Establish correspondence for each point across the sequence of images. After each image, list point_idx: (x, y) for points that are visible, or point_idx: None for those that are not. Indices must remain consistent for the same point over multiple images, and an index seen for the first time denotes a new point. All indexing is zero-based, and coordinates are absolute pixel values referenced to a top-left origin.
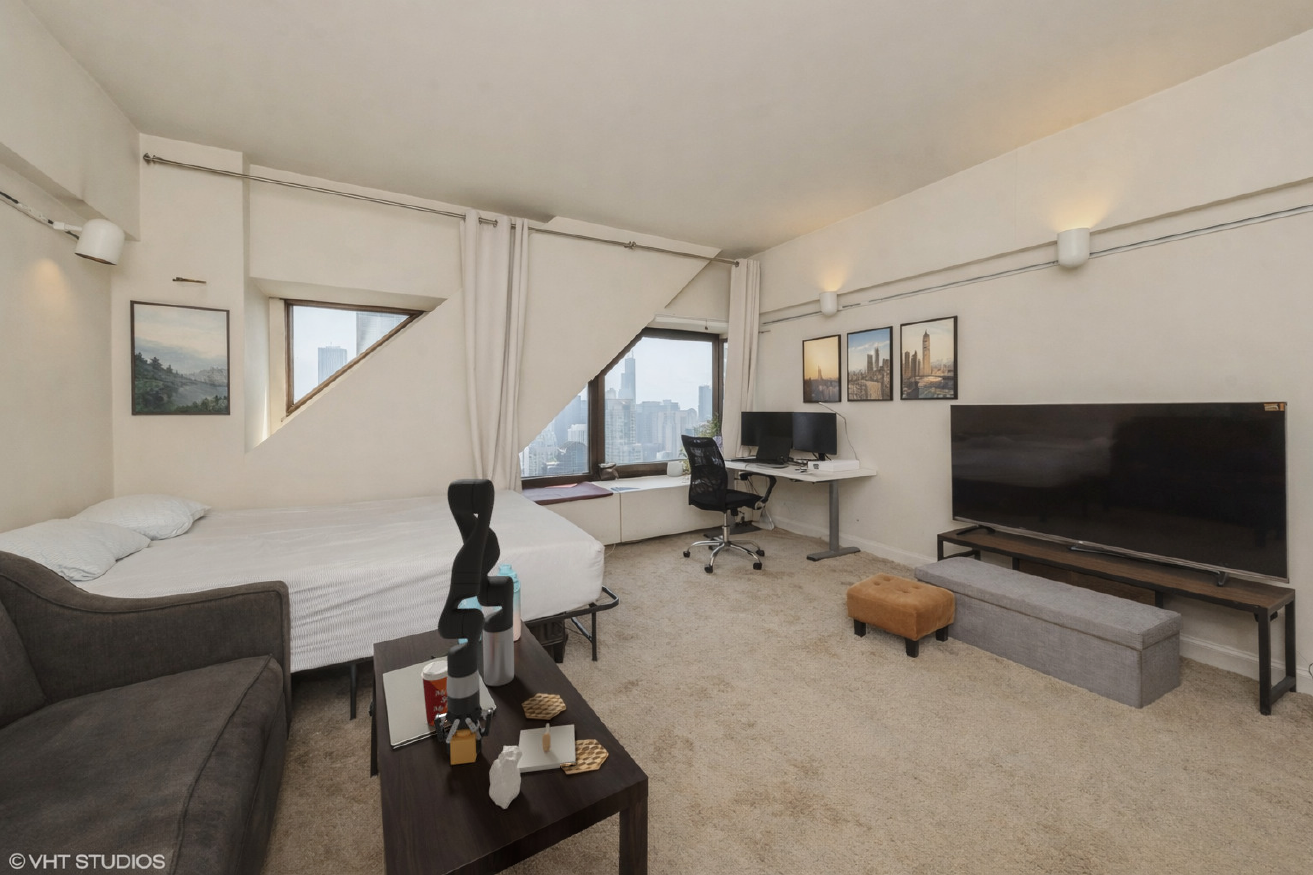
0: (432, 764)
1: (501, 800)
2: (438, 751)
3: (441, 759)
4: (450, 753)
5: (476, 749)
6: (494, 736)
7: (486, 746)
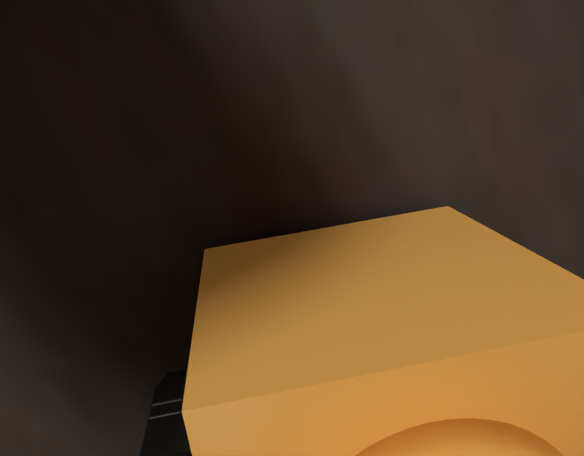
0: (53, 443)
1: None
2: (13, 266)
3: (112, 378)
4: None
5: None
6: (577, 20)
7: (517, 190)
